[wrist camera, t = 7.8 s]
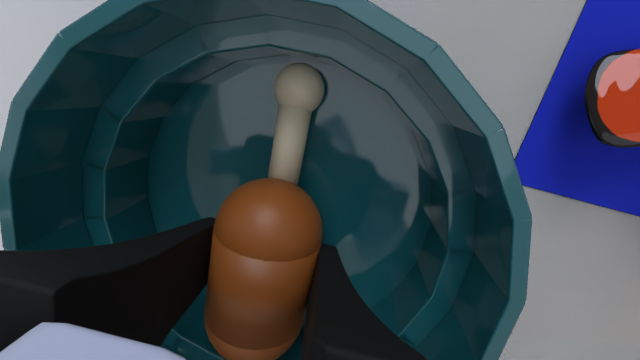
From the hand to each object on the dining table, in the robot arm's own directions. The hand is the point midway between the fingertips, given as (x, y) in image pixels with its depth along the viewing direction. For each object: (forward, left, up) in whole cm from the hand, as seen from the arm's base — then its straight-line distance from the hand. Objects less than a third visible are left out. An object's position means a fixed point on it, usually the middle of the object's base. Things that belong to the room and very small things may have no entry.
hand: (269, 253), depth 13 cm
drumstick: (+2, 0, -1) cm, 2 cm away
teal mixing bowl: (+1, 0, -2) cm, 2 cm away
